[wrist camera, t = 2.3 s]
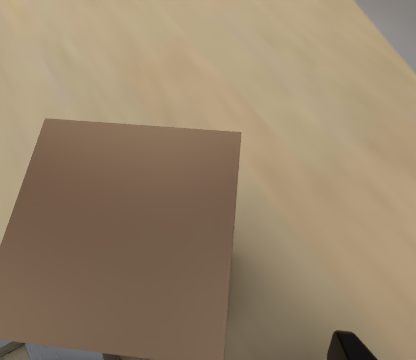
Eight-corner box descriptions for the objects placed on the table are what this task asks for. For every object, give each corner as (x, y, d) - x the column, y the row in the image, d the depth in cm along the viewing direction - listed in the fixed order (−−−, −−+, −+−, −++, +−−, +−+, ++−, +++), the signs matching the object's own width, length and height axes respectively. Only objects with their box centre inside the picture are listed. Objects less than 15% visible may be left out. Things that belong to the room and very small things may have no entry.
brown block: (222, 320, 16) (223, 369, 4) (154, 312, 16) (-32, 335, 4) (228, 250, 17) (241, 132, 5) (165, 244, 18) (44, 118, 6)
